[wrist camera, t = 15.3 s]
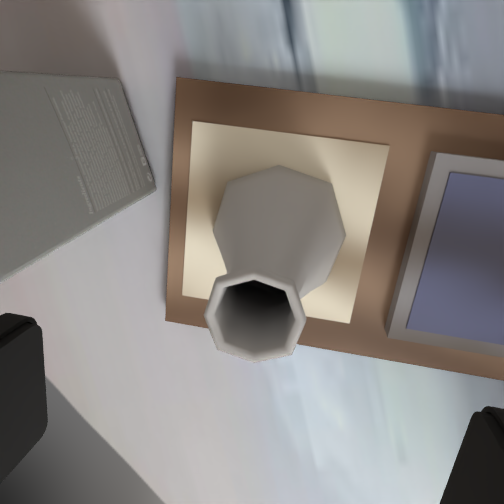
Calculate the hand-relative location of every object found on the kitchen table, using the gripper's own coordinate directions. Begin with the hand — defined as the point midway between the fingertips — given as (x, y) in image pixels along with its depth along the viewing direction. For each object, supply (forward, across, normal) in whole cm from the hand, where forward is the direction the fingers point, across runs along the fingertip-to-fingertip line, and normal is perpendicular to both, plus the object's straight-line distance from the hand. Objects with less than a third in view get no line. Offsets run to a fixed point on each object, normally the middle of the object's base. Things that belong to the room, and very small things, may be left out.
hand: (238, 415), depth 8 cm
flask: (+14, 0, 0) cm, 14 cm away
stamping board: (+15, -5, -1) cm, 16 cm away
